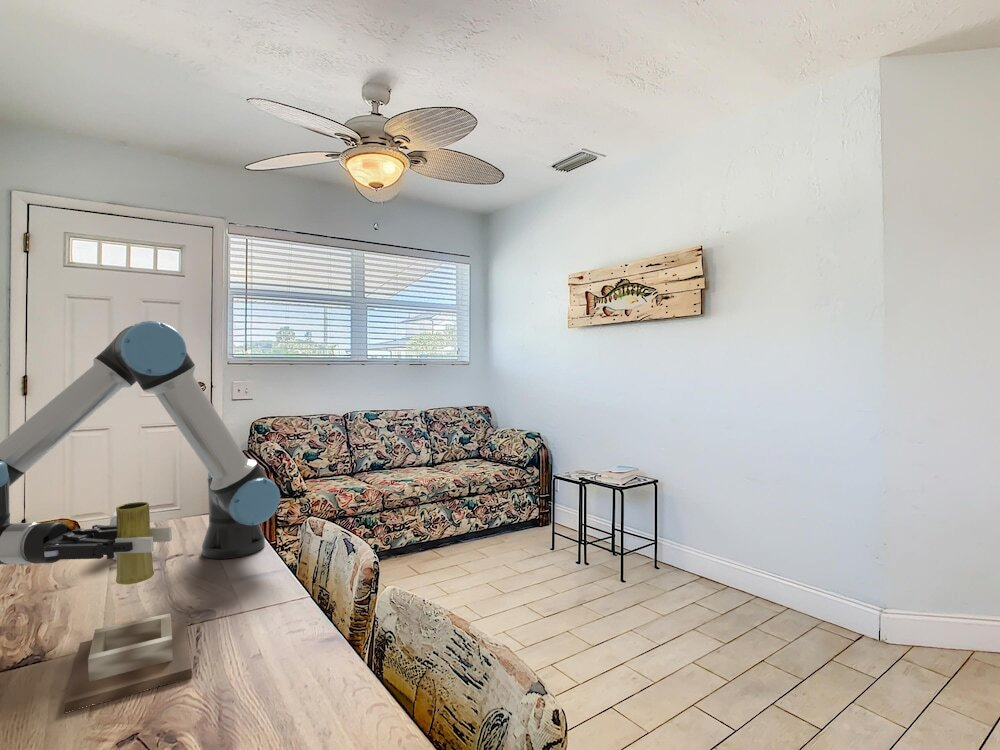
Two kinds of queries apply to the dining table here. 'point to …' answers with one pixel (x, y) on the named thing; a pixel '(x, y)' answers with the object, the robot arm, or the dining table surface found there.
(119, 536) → the vase
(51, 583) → the dining table surface
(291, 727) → the dining table surface
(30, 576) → the dining table surface
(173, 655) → the stand
